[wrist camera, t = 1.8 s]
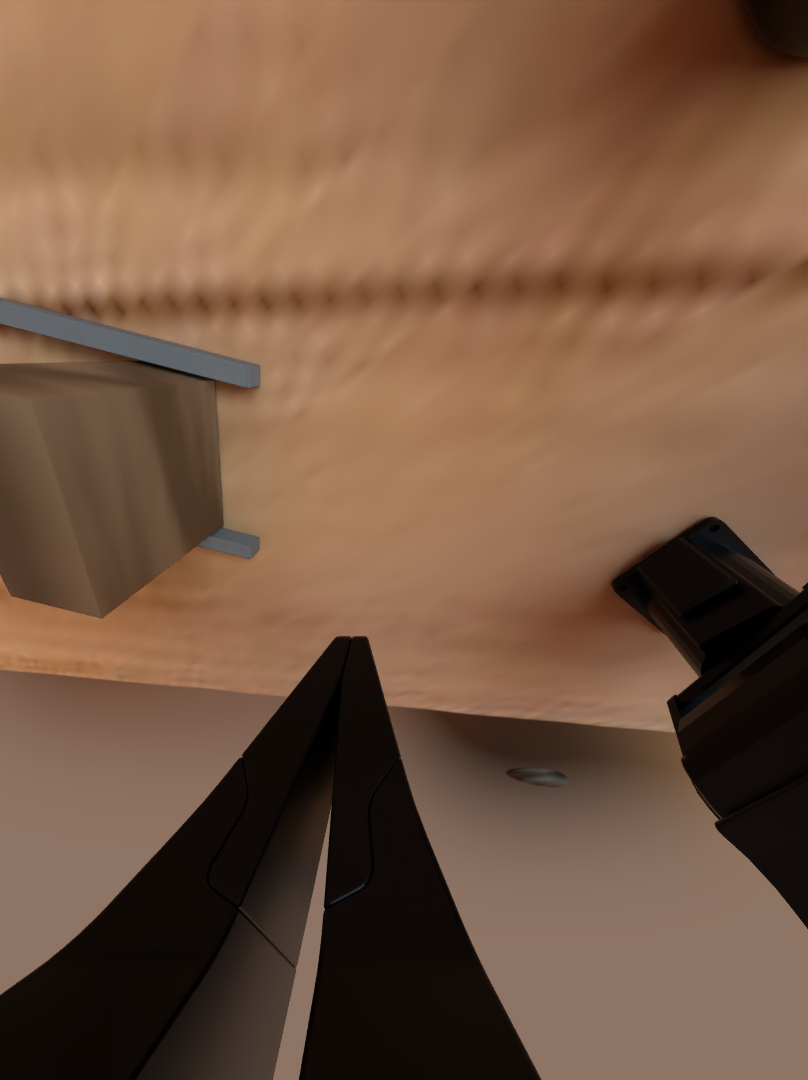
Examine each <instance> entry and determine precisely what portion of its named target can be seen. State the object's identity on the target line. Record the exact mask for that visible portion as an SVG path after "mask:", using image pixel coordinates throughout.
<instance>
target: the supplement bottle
mask: <svg viewBox="0 0 808 1080" xmlns="http://www.w3.org/2000/svg"><path fill="white" fill-rule="evenodd" d="M744 3H745V7H746V11H747V13H748V16H749V18H750V21H751V23H752V25H753V26H754V28H755V30H756V32H757V33H758V34H759V35H760V37H761V38H762V39H763V40H764V41H765V42H766V43H767V44H768V45H769V46H771V47H772V48H774V49H776V50H777V51H779V52H782V53H784V54H787V55H792V56H797V57H808V0H744Z"/></svg>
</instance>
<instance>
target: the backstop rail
mask: <svg viewBox="0 0 808 1080" xmlns="http://www.w3.org/2000/svg"><path fill="white" fill-rule="evenodd" d="M0 324H4V325H8V326H12V327H15V328H19V329H23V330H27V331H31V332H35V333H39V334H42V335H46V336H50V337H54V338H58V339H62V340H65V341H69V342H73V343H77V344H81V345H85V346H89V347H92V348H96V349H100V350H104V351H108V352H112V353H115V354H119V355H123V356H127V357H131V358H135V359H139V360H142V361H146V362H150V363H154V364H158V365H162V366H165V367H169V368H173V369H177V370H181V371H185V372H189V373H192V374H196V375H200V376H204V377H208V378H212V379H215V380H219V381H223V382H227V383H231V384H235V385H238V386H242V387H246V388H251V387H257V386H260V365H257V364H253V363H249V362H245V361H241V360H238V359H234V358H230V357H226V356H222V355H218V354H215V353H211V352H207V351H203V350H199V349H195V348H192V347H188V346H184V345H180V344H176V343H173V342H169V341H165V340H161V339H157V338H153V337H150V336H146V335H142V334H138V333H134V332H130V331H127V330H123V329H119V328H115V327H111V326H107V325H104V324H100V323H96V322H92V321H88V320H84V319H81V318H77V317H73V316H69V315H65V314H62V313H58V312H54V311H50V310H46V309H42V308H39V307H35V306H31V305H27V304H23V303H19V302H16V301H12V300H8V299H4V298H0ZM197 546H201V547H205V548H209V549H213V550H216V551H220V552H224V553H228V554H232V555H236V556H240V557H244V558H248V559H251V558H252V557H253V556H254V555H255V554H256V553H257V552H258V551H259V537H255V536H251V535H247V534H243V533H239V532H235V531H231V530H227V529H223V528H219V529H218V530H217V531H215V532H214V533H213V534H212V535H210V536H209V537H208V538H206V539H205V540H204V541H202V542H201V543H200V544H199V545H197Z"/></svg>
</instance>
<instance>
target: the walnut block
mask: <svg viewBox="0 0 808 1080" xmlns="http://www.w3.org/2000/svg"><path fill="white" fill-rule="evenodd" d="M222 526H223V509H222V492H221V475H220V459H219V442H218V426H217V409H216V393H215V380H212V379H209V378H205V377H201V376H197V375H193V374H189V373H185V372H182V371H178V370H174V369H170V368H166V367H162V366H159V365H155V364H151V363H147V362H143V361H118V362H72V363H27V364H0V575H1V577H2V579H3V581H4V583H5V585H6V587H7V589H8V591H9V593H10V595H11V596H13V597H17V598H21V599H25V600H29V601H33V602H37V603H41V604H45V605H49V606H53V607H57V608H62V609H66V610H70V611H74V612H78V613H82V614H86V615H90V616H94V617H98V618H103V617H105V616H106V615H107V614H109V613H110V612H111V611H113V610H114V609H115V608H116V607H118V606H119V605H120V604H122V603H123V602H124V601H126V600H127V599H128V598H129V597H131V596H132V595H133V594H135V593H136V592H137V591H139V590H140V589H141V588H142V587H144V586H145V585H146V584H148V583H149V582H150V581H152V580H153V579H154V578H156V577H157V576H158V575H159V574H161V573H162V572H163V571H165V570H166V569H167V568H169V567H170V566H171V565H172V564H174V563H175V562H176V561H178V560H179V559H180V558H182V557H183V556H184V555H185V554H187V553H188V552H189V551H191V550H192V549H193V548H195V547H196V546H197V545H199V544H200V543H201V542H202V541H204V540H205V539H206V538H208V537H209V536H210V535H212V534H213V533H214V532H215V531H217V530H218V529H219V528H221V527H222Z"/></svg>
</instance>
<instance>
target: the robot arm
mask: <svg viewBox="0 0 808 1080" xmlns="http://www.w3.org/2000/svg"><path fill="white" fill-rule="evenodd" d="M714 524H715V525H714ZM712 525H714V526H713V527H712V528H710V527H711V526H712ZM709 528H710V529H709ZM621 585H623V586H622V587H619V586H621ZM611 586H612V588H613V590H614V591H615V592H616V593H617V594H618V595H619V596H620V597H621V598H623V599H624V600H625V601H626V602H627V603H629V604H630V605H631V606H632V607H633V608H634V609H636V610H637V611H638V612H639V613H640V614H642V615H643V616H644V617H645V618H646V619H647V620H649V621H650V622H651V623H652V624H653V625H655V626H656V627H657V628H658V629H659V630H660V631H662V632H663V633H664V634H665V635H666V636H667V637H668V638H669V639H670V641H671V642H672V643H673V645H674V646H675V647H676V648H677V650H678V651H679V652H680V654H681V655H682V656H683V657H684V659H685V660H686V661H687V662H688V664H689V665H690V666H691V668H692V669H693V670H694V671H695V673H696V674H697V675H698V677H699V678H698V679H697V680H695V681H694V682H693V683H692V684H691V685H689V686H688V687H687V688H686V689H685V690H683V691H682V692H681V693H680V694H679V695H678V696H677V695H674V696H673V697H672V698H670V699H669V700H668V701H667V704H668V708H669V711H670V714H671V718H672V721H673V724H674V728H675V731H676V734H677V738H678V741H679V745H680V748H681V751H682V755H683V757H682V759H681V761H682V764H683V767H684V769H685V771H686V773H687V774H688V776H689V778H690V779H691V781H692V784H693V785H694V787H695V789H696V791H697V793H698V794H699V796H700V797H701V798H702V800H703V801H704V802H705V804H706V805H707V806H708V808H709V809H710V810H711V811H712V812H713V813H714V815H715V816H716V817H717V818H718V819H719V820H718V821H716V822H715V826H716V828H717V830H718V831H719V832H720V833H721V834H722V835H723V836H724V837H725V838H726V839H727V840H728V841H730V842H731V843H732V844H733V845H734V846H735V847H736V848H737V849H738V850H739V851H741V852H742V853H743V854H744V855H745V856H746V857H747V858H748V859H749V860H750V861H751V862H752V863H753V864H754V865H755V866H756V867H757V868H758V870H759V871H760V872H761V873H762V874H763V875H764V876H765V877H766V878H767V879H768V880H769V881H770V883H771V884H772V885H773V886H774V887H775V888H776V889H777V890H778V892H779V893H780V894H781V895H782V897H783V898H784V899H785V900H786V902H787V903H788V904H789V905H790V907H791V908H792V909H793V910H794V912H795V913H796V914H797V915H798V917H799V918H800V919H801V921H802V922H803V923H804V925H805V926H806V927H807V929H808V583H807V584H806V585H804V586H803V587H802V588H803V589H804V590H803V591H802V592H801V593H800V592H798V591H797V590H795V589H794V588H792V587H791V586H789V585H788V584H786V583H785V582H783V581H782V580H780V579H779V578H777V577H776V576H775V575H774V574H773V573H772V572H771V571H770V570H769V569H768V568H767V566H766V565H765V564H764V563H763V562H762V561H761V560H760V559H759V558H758V557H757V556H756V555H755V554H754V553H753V552H752V551H751V550H750V549H749V548H748V547H747V546H746V545H745V544H744V543H743V542H742V540H741V539H740V538H739V537H738V536H737V535H736V534H735V533H734V532H733V531H732V530H731V529H730V528H729V527H728V526H727V525H726V524H725V523H724V522H723V521H721V520H719V519H718V518H716V517H709V518H707V519H705V520H703V521H701V522H700V523H698V524H697V525H696V526H694V527H693V528H691V529H690V530H688V531H687V532H685V533H684V534H682V535H681V536H679V537H678V538H676V539H675V540H673V541H672V542H670V543H669V544H667V545H666V546H664V547H663V548H661V549H660V550H658V551H657V552H655V553H654V554H652V555H651V556H649V557H648V558H646V559H645V560H643V561H642V562H640V563H639V564H637V565H636V566H634V567H633V568H632V569H630V570H629V571H627V572H626V573H624V574H623V575H621V576H620V577H618V578H617V579H615V580H614V581H613V582H612V584H611ZM331 805H332V808H331ZM330 809H331V821H330V835H329V847H328V860H327V873H326V886H325V900H324V908H325V911H324V914H323V925H322V936H321V945H320V954H319V962H318V969H317V976H316V982H315V988H314V994H313V1000H312V1006H311V1012H310V1017H309V1023H308V1029H307V1035H306V1041H305V1047H304V1053H303V1058H302V1064H301V1071H300V1076H299V1080H541V1078H540V1076H539V1074H538V1072H537V1070H536V1068H535V1066H534V1065H533V1063H532V1061H531V1059H530V1057H529V1055H528V1053H527V1051H526V1049H525V1047H524V1045H523V1043H522V1042H521V1040H520V1038H519V1036H518V1034H517V1032H516V1030H515V1028H514V1026H513V1024H512V1022H511V1020H510V1018H509V1017H508V1015H507V1013H506V1011H505V1009H504V1007H503V1005H502V1003H501V1001H500V999H499V997H498V995H497V994H496V992H495V990H494V988H493V986H492V984H491V982H490V980H489V978H488V976H487V974H486V972H485V970H484V968H483V966H482V964H481V962H480V960H479V958H478V956H477V954H476V951H475V949H474V947H473V945H472V943H471V940H470V938H469V936H468V934H467V931H466V929H465V927H464V924H463V922H462V920H461V917H460V915H459V913H458V910H457V908H456V905H455V903H454V900H453V898H452V896H451V893H450V891H449V888H448V886H447V883H446V881H445V878H444V876H443V873H442V871H441V869H440V866H439V864H438V861H437V859H436V856H435V854H434V851H433V849H432V847H431V844H430V842H429V839H428V837H427V835H426V832H425V830H424V826H423V824H422V821H421V819H420V816H419V813H418V811H417V808H416V806H415V802H414V799H413V796H412V793H411V790H410V786H409V783H408V780H407V777H406V773H405V769H404V766H403V763H402V760H401V756H400V752H399V748H398V745H397V741H396V738H395V734H394V730H393V727H392V723H391V720H390V716H389V712H388V709H387V705H386V701H385V698H384V694H383V691H382V687H381V683H380V680H379V676H378V673H377V669H376V665H375V662H374V658H373V655H372V651H371V647H370V644H369V640H368V638H367V637H366V636H354V637H353V638H351V637H350V636H337V637H336V638H335V639H334V640H333V641H332V642H331V644H330V645H329V646H328V647H327V649H326V650H325V651H324V652H323V654H322V655H321V656H320V657H319V659H318V660H317V661H316V662H315V664H314V665H313V666H312V667H311V669H310V670H309V671H308V672H307V674H306V675H305V676H304V677H303V679H302V680H301V681H300V683H299V684H298V685H297V686H296V688H295V689H294V690H293V691H292V693H291V694H290V695H289V696H288V698H287V699H286V700H285V701H284V703H283V704H282V705H281V706H280V708H279V709H278V710H277V711H276V713H275V714H274V715H273V716H272V718H271V719H270V720H269V721H268V723H267V724H266V725H265V727H264V728H263V729H262V731H261V732H260V733H259V734H258V735H257V737H256V738H255V739H254V741H253V742H252V743H251V744H250V745H249V747H248V748H247V749H246V750H245V752H244V753H243V754H242V758H239V759H238V760H237V761H236V763H235V764H234V765H233V767H232V768H231V769H230V770H229V772H228V773H227V774H226V775H225V777H224V778H223V779H222V780H221V781H220V783H219V784H218V785H217V786H216V787H215V789H214V790H213V791H212V792H211V793H210V795H209V796H208V797H207V798H206V799H205V801H204V802H203V803H202V804H201V805H200V806H199V807H198V808H197V810H196V811H195V812H194V813H193V814H192V815H191V816H190V817H189V818H188V819H187V821H186V822H185V823H184V824H183V825H182V826H181V827H180V828H179V829H178V831H177V832H176V833H175V834H174V835H173V836H172V837H171V838H170V839H169V840H168V841H167V842H166V843H165V845H164V846H163V847H162V848H161V849H160V850H159V851H158V852H157V853H156V854H155V855H154V856H153V857H152V858H151V860H150V861H149V862H148V863H147V864H146V865H145V866H144V867H143V868H142V869H141V871H140V872H138V874H137V875H136V876H135V877H134V878H133V879H132V880H131V881H130V882H129V883H128V884H127V885H126V886H125V888H124V889H123V890H122V891H121V892H120V893H119V894H118V895H117V896H116V897H115V898H114V899H113V900H112V902H111V903H110V904H109V905H108V906H107V907H106V908H105V909H104V910H103V911H102V912H101V913H100V914H99V915H98V916H97V917H96V918H95V919H94V920H93V921H92V922H91V923H90V924H89V925H88V926H87V927H86V928H85V929H84V930H83V931H82V932H81V933H80V934H78V936H76V937H75V938H74V939H73V940H72V941H70V943H68V944H67V945H66V946H65V947H64V948H62V949H61V950H60V951H59V952H57V953H56V954H55V955H54V956H53V957H51V958H50V959H49V960H48V961H46V962H45V963H44V964H42V965H41V966H40V967H38V968H37V969H35V970H34V971H33V972H31V973H30V974H29V975H27V976H26V977H24V978H23V979H22V980H20V981H19V982H17V983H16V984H15V985H13V986H12V987H11V988H9V989H8V990H6V991H5V992H4V993H3V994H1V995H0V1080H273V1076H274V1071H275V1067H276V1062H277V1057H278V1053H279V1048H280V1043H281V1039H282V1034H283V1029H284V1024H285V1020H286V1015H287V1010H288V1006H289V1001H290V997H291V992H292V987H293V983H294V978H295V973H296V969H295V967H296V966H297V963H298V959H299V954H300V949H301V945H302V939H303V935H304V930H305V926H306V921H307V917H308V912H309V907H310V903H311V898H312V893H313V889H314V884H315V879H316V875H317V870H318V865H319V860H320V856H321V851H322V846H323V842H324V837H325V833H326V828H327V823H328V819H329V814H330Z"/></svg>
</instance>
